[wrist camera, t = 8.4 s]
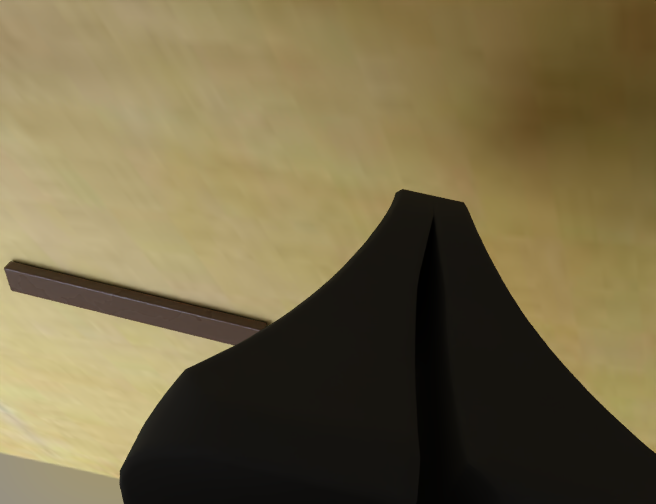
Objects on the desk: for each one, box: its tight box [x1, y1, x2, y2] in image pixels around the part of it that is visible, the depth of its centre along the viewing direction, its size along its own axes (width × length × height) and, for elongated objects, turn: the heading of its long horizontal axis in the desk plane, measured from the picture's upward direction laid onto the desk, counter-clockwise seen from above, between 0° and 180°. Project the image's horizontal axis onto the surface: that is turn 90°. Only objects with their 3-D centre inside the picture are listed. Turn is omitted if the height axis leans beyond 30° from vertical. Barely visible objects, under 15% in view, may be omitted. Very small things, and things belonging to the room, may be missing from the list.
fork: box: [4, 261, 267, 345], centre depth 19 cm, size 15×2×1 cm, turn 83°
